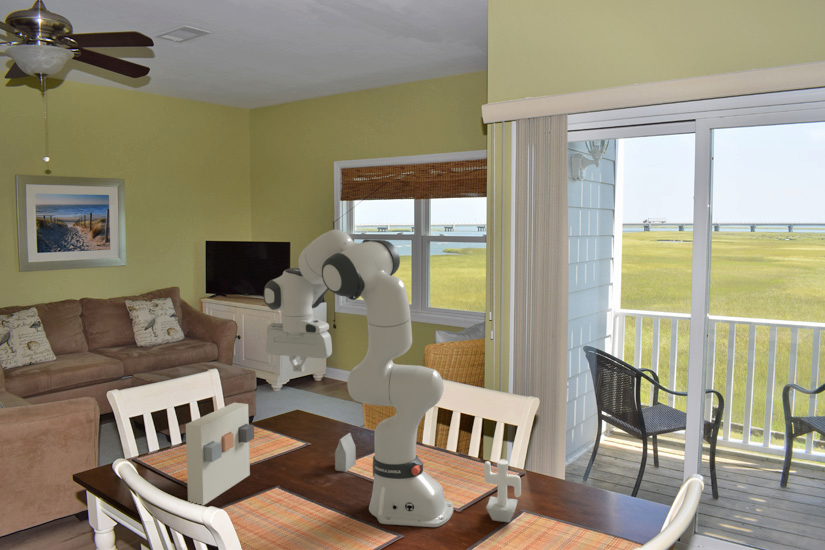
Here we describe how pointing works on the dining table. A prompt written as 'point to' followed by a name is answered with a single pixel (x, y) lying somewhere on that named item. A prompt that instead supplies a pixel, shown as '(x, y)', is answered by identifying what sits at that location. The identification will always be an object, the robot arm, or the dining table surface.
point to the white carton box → (345, 454)
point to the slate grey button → (212, 451)
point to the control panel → (233, 463)
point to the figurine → (502, 491)
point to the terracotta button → (227, 441)
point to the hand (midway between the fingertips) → (298, 371)
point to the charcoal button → (246, 433)
